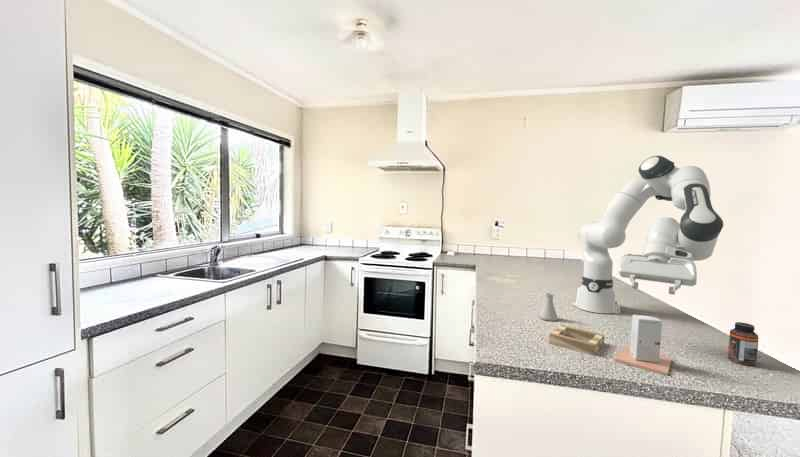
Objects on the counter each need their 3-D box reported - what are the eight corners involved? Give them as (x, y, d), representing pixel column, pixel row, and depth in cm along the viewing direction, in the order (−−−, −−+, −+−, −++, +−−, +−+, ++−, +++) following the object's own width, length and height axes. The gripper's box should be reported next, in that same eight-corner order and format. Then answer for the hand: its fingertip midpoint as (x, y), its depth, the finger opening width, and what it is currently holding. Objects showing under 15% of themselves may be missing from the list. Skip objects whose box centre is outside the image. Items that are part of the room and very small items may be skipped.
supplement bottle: (723, 356, 104) (726, 319, 103) (748, 359, 101) (751, 322, 101) (734, 364, 98) (737, 325, 97) (761, 368, 96) (764, 328, 95)
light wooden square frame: (562, 333, 120) (562, 324, 120) (603, 343, 111) (604, 334, 111) (548, 343, 111) (549, 334, 110) (593, 355, 102) (594, 345, 102)
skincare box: (635, 360, 97) (638, 318, 96) (628, 354, 101) (631, 314, 101) (660, 363, 96) (663, 320, 95) (652, 356, 100) (654, 316, 99)
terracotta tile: (623, 348, 107) (623, 346, 107) (671, 360, 99) (672, 358, 99) (614, 361, 98) (614, 358, 98) (667, 375, 90) (667, 372, 90)
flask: (554, 316, 140) (555, 292, 139) (561, 322, 132) (562, 296, 132) (536, 315, 140) (537, 291, 140) (541, 321, 133) (543, 296, 133)
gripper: (621, 247, 119) (613, 279, 112) (698, 254, 105) (695, 290, 98) (623, 259, 122) (615, 290, 115) (698, 266, 108) (694, 302, 101)
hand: (652, 290), depth 107 cm, fingers open, 8 cm apart
